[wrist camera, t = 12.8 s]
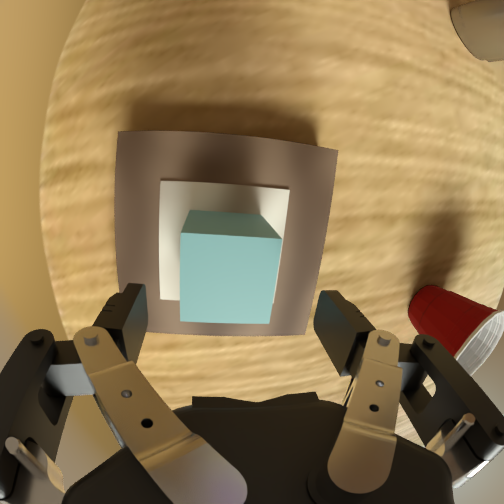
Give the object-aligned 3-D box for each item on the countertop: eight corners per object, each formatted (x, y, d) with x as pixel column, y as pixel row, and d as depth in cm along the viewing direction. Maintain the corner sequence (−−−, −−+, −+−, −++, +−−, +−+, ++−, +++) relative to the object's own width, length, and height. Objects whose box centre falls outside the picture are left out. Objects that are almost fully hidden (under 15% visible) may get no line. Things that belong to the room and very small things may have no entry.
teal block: (261, 214, 19) (282, 238, 14) (253, 279, 21) (269, 323, 15) (189, 209, 18) (180, 232, 13) (187, 276, 20) (180, 321, 14)
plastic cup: (386, 348, 32) (433, 406, 21) (398, 277, 28) (467, 331, 17) (440, 326, 33) (488, 370, 22) (454, 261, 29) (517, 299, 18)
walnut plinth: (318, 150, 22) (339, 150, 18) (292, 312, 28) (305, 336, 23) (133, 135, 20) (116, 131, 16) (134, 306, 25) (123, 331, 21)
